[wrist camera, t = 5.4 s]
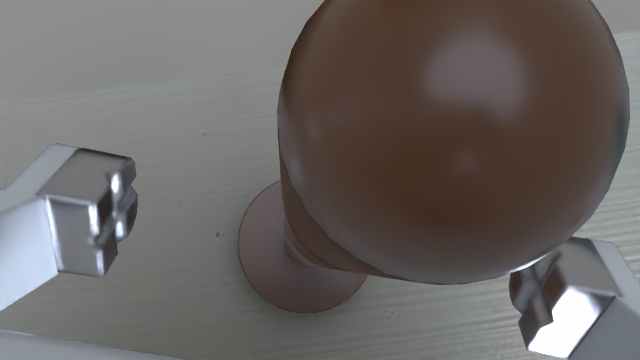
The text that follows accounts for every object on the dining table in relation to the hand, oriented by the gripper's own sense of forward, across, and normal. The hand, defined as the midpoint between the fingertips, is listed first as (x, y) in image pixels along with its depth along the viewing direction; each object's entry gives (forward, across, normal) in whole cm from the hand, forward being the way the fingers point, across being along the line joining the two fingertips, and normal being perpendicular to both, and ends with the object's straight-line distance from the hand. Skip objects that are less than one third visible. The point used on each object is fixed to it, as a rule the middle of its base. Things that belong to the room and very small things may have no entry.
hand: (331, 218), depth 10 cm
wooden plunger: (+9, 0, +9) cm, 12 cm away
